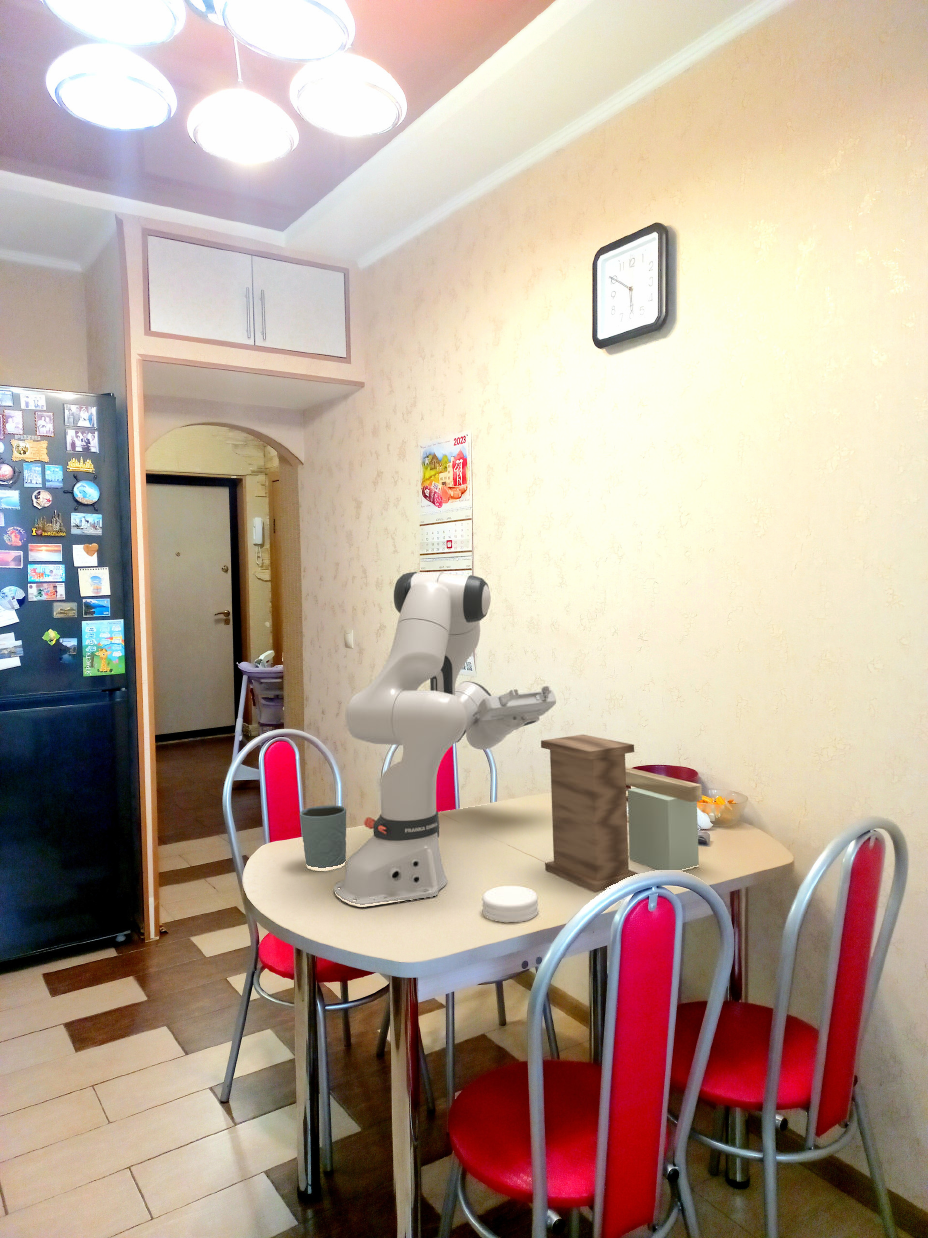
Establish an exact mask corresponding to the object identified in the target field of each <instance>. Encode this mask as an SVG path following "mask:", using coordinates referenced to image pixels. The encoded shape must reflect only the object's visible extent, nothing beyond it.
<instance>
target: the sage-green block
mask: <svg viewBox="0 0 928 1238" xmlns="http://www.w3.org/2000/svg"><path fill="white" fill-rule="evenodd" d="M627 821H628V852H629V860H631V861H633V862H636V863H638V864H641V865H644V866H647V867H649V868H651V869H654V870H657V871H659V870H682V869H686V868H690V867H693V866H697V865H700V864H699V863H700V862H699V860H700V859H699V856H700V855H699V831H698V830H699V829H698V827H699V825H698V822H699V821H698V801H695V802H688V801H685V800H681V799H677V798H673V797H669V796H666V795H662V794H658V793H654V792H651V791H647V790H643V789H639V788H635V787H632V788H628V789H627ZM684 871H685V872H686V870H684ZM684 871H683V872H684Z"/></svg>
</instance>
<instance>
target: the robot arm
mask: <svg viewBox="0 0 928 1238" xmlns="http://www.w3.org/2000/svg"><path fill="white" fill-rule="evenodd" d="M491 602H492V601H491V591H490V587H489V584H488V582H487V581H485V579H484V578H482V577H479V576H476V575H472V574H471V575H463V574H457V573H451V572H450V573H448V572H443V571H442V572H441V571H430V572H429V571H428V572H418V571H412V572H406V573H403V574H402V575H401V576H399V578H398V579H396V583H395V585H394V589H393V603H394V608H395V609H396V611H397V612H398V614H399V616H398V620H397V625H396V628H395V634H394V637H393V641H392V645H391V648H390V651H389V652H390V653H389V655H388V659H387V660H386V662H385V664H384V666H383V667H382V669H381V670H380V672H379V673H378V674H377V675H376V677H375V678H374V680H372V681H371V682H370V684H369V685H368V686H366V687H365V688H364V689H362V690H361V691H360V692H358V693H356V694H355V695H353V696H352V698H351V699H350V700H349V702H348V703H347V705H346V709H345V715H344V719H345V725H346V727H347V731H348V733H349V734H350V735H351V737H352V738H354V739H356V740H359V741H362V742H366V743H370V744H374V745H392V746H393V745H394V746H396V745H397V746H403V747H402V750H403V751H402V757H401V759H400V761H397V762H396V763H394V764H392V765H391V766H389V767H388V768H386V770H384V772H383V773H382V776H381V778H380V780H379V789H380V790H379V791H380V792H379V793H380V795H379V796H380V815H379V816H378V818H376V819H374V818H372V817H370V816H368V817H366V818H365V819H364V820H363V824H364V825H363V826H365V828H368V829H369V830H373V835H372V836H371V837H370V838H369V839H367V841H366V842H365V843H364V844H363V845H361V846H360V847H359V848H358V849H357V851H355V852H354V853H353V854H352V855H351V856H350V857H349V858H348V859H347V861H346V865H345V871H344V872H345V873H344V874H345V875H344V880H342V881H339V882H337V883H335V885H334V886H333V892H334V891H335V892H336V894H337V895H338V896H340V897H341V898H342V899H344V900H347V901H349V902H351V903H355V904H360V905H365V904H373V903H380V902H389V901H398V900H410V899H417V898H424V899H427V898H426V897H430V898H434V897H433V896H435V897H436V895H437V896H438V894H439V891H440V890H441V889H442V888H444V887H445V886H446V885H447V882H448V879H447V876H446V873H445V870H444V866H443V862H442V857H441V851H440V844H439V838H440V821H439V819H440V818H439V811H437V777H438V776H437V775H438V771H439V767H440V764H441V761H442V760H443V758H444V756H445V754H446V753H447V751H448V750H449V749H450V748H451V747H453V746H454V744H457V743H459V742H460V741H461V740H462V738H463V737H464V736H465V735H466V736H465V737H466V740H467V743H468V745H470V746H471V747H472V748H474V749H476V750H485V751H486V750H488V749H491V748H494V747H495V746H497V745H498V744H500V743H501V742H502V741H503V740H505V738H506V737H507V736H509V735H510V734H512V732H514V731H517V730H519V729H520V728H523V727H525V726H528V725H532V724H536V723H537V722H539V721H540V719H541V718H540V717H541V716H544V715H545V714H546V713H548V712H549V711H550V710H551V709H552V708H553V707H555V706H556V703H557V699H556V695H555V693H554V691H553V690H552V688H551V686H550V685H545V686H542V688H540V690H534V691H526V692H519V690H518V689H510V690H509V691H508V692H505V693H503V694H496V695H492V694H491V693H490V692H489V691H488V690H487V688H485V687H484V686H483V685H481V684H480V683H478V682H474V681H470V680H469V681H467V680H465V681H462V682H460V683H459V684H458V686H456V681H457V679H458V676H459V674H460V672H461V671H462V669H463V667H464V665H465V664H466V663H467V662H468V660H469V659H470V657H471V656H472V655H473V653H474V652H475V650H476V649H477V647H478V645H479V641H480V636H481V623H480V622H481V621H482V620H483V619H484V618H485V617H486V616H487V614H488V611H489V609H490V607H491ZM427 681H430V682H429V684H430V685H429V687H430V688H429V689H430V690H418V689H419V688H420V687H421V686H422V684H424V683H425V682H427ZM338 888H340V889H338ZM353 900H356V901H353ZM417 900H418V899H417Z"/></svg>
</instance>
